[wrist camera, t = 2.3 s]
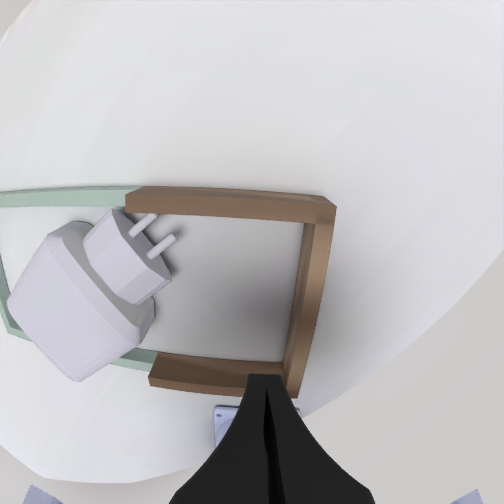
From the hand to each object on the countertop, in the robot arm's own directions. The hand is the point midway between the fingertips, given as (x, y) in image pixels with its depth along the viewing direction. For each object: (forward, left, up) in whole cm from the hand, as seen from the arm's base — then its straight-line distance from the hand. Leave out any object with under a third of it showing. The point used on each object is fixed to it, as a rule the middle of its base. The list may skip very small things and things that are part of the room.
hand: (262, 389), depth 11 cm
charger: (0, +11, -9) cm, 15 cm away
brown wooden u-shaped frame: (0, +2, -8) cm, 9 cm away
